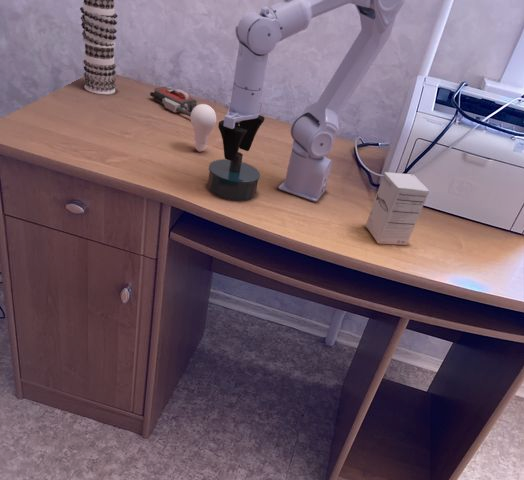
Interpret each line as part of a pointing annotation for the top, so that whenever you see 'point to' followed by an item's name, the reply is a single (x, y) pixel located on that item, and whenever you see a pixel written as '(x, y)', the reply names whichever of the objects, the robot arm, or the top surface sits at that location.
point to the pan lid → (234, 171)
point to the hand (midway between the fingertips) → (237, 154)
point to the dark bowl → (231, 189)
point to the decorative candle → (99, 45)
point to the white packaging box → (396, 208)
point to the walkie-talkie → (174, 99)
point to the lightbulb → (202, 124)
